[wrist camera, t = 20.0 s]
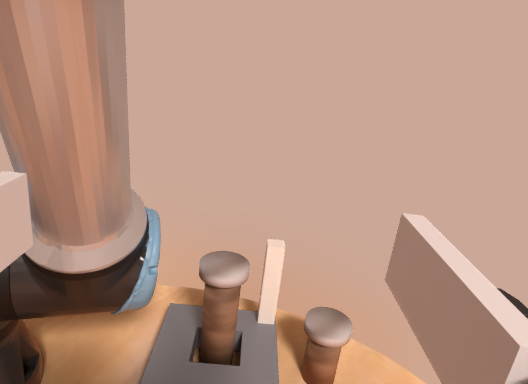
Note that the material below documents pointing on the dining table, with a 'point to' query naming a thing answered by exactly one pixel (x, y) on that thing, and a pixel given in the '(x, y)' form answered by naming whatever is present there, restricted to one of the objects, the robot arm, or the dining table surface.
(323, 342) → the short pin
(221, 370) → the hole block
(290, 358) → the dining table surface
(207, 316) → the long pin
